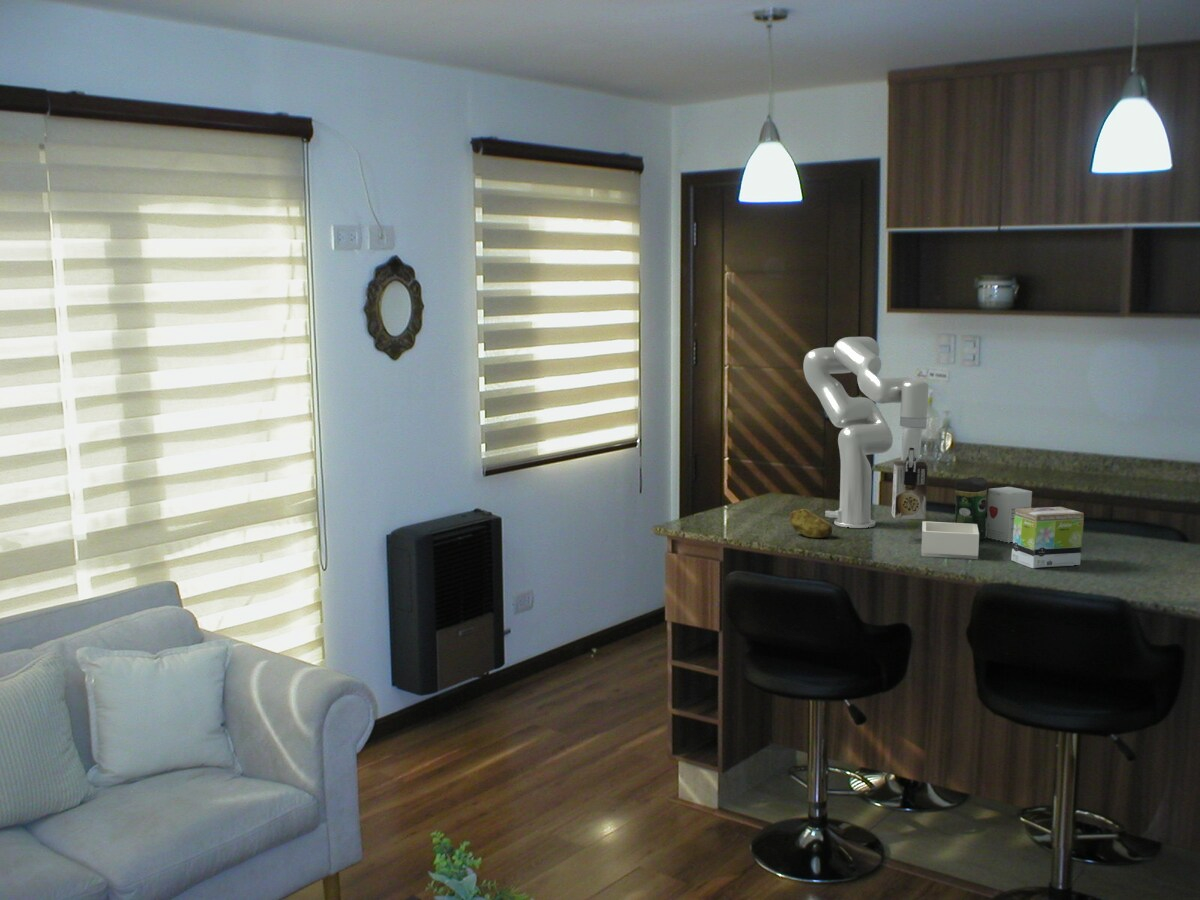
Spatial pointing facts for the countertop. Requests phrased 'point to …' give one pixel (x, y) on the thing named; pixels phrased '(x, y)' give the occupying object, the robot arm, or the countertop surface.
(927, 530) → the tote
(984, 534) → the coffee jar
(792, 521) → the potato
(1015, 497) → the supplement box
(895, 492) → the coffee box
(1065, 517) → the tea box
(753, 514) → the countertop surface
